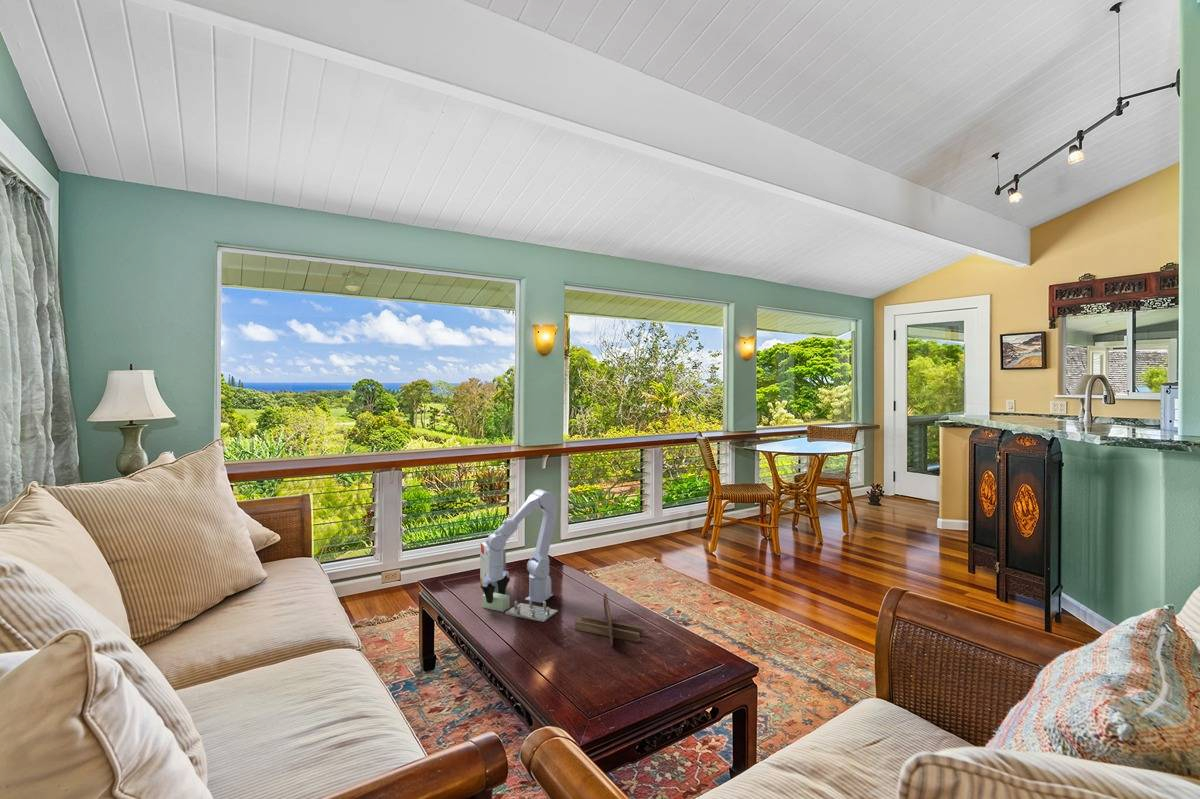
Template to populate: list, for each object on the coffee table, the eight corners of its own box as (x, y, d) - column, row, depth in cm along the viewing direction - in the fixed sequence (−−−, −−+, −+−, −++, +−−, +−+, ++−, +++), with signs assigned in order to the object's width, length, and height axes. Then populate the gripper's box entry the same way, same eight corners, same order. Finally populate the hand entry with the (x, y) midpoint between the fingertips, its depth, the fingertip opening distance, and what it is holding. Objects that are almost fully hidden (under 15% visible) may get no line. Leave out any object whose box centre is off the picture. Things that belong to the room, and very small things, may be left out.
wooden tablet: (616, 649, 179) (616, 618, 179) (609, 649, 179) (610, 618, 179) (608, 617, 205) (609, 590, 205) (602, 617, 205) (603, 590, 205)
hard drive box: (479, 587, 239) (479, 541, 239) (497, 584, 242) (497, 539, 242) (488, 599, 225) (488, 550, 225) (506, 596, 228) (506, 548, 228)
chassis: (505, 614, 208) (505, 605, 208) (520, 605, 217) (520, 596, 217) (543, 622, 201) (543, 612, 201) (557, 612, 210) (557, 603, 210)
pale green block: (482, 607, 216) (482, 595, 216) (489, 604, 220) (489, 591, 220) (502, 612, 211) (502, 599, 211) (509, 608, 215) (509, 595, 215)
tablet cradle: (582, 623, 200) (582, 615, 200) (644, 636, 189) (644, 627, 189) (575, 630, 194) (575, 621, 194) (638, 643, 184) (638, 634, 184)
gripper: (498, 558, 224) (498, 592, 224) (475, 568, 211) (475, 603, 211) (513, 561, 221) (512, 595, 221) (490, 571, 208) (490, 607, 207)
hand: (495, 599), depth 215 cm, fingers open, 7 cm apart
